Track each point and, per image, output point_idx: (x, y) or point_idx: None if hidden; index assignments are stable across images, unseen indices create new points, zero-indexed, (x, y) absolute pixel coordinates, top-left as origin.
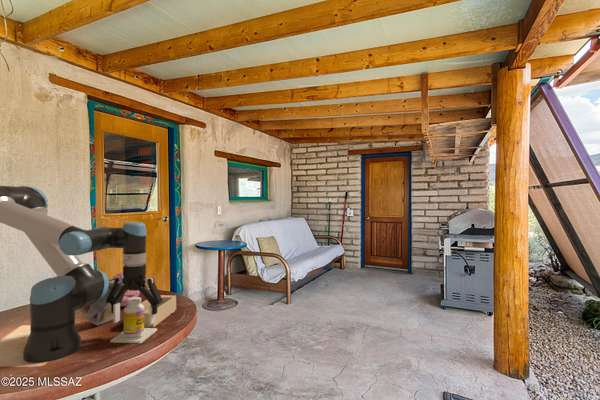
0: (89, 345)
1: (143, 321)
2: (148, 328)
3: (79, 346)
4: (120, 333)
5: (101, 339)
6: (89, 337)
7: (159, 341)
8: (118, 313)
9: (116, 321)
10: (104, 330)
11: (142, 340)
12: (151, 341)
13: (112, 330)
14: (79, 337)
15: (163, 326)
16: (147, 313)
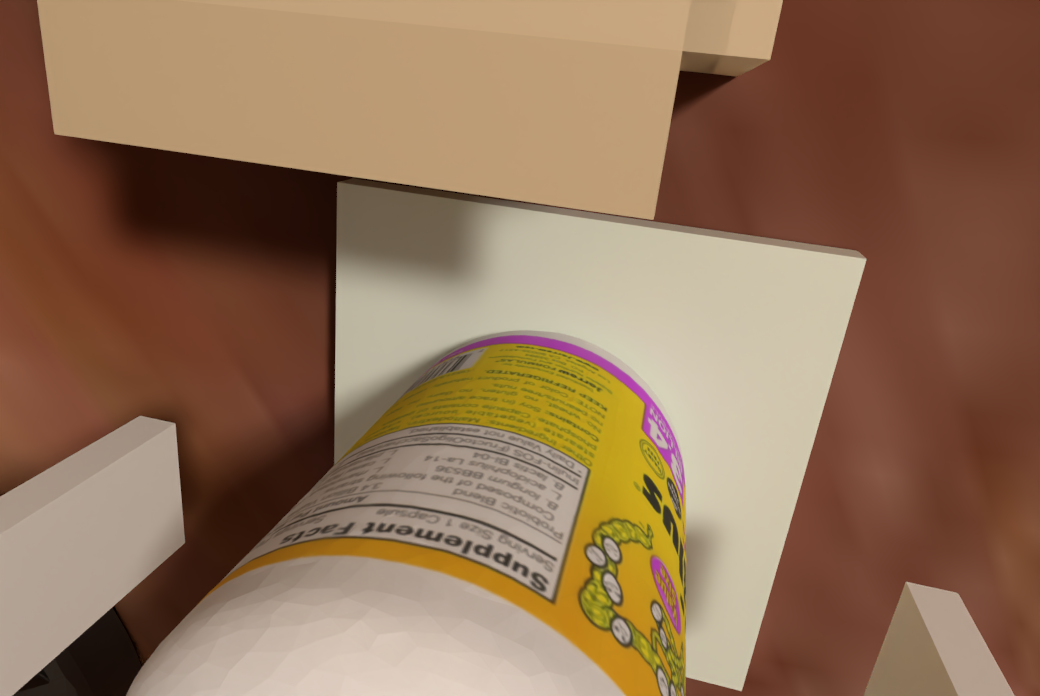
0: (181, 598)
1: (685, 586)
2: (694, 255)
3: (125, 657)
4: (336, 408)
5: (195, 473)
6: (29, 399)
7: (1009, 660)
8: (52, 552)
9: (169, 521)
10: (32, 191)
11: (751, 644)
12: (879, 638)
13: (132, 198)
14: (30, 692)
15: (945, 42)
16: (623, 215)
